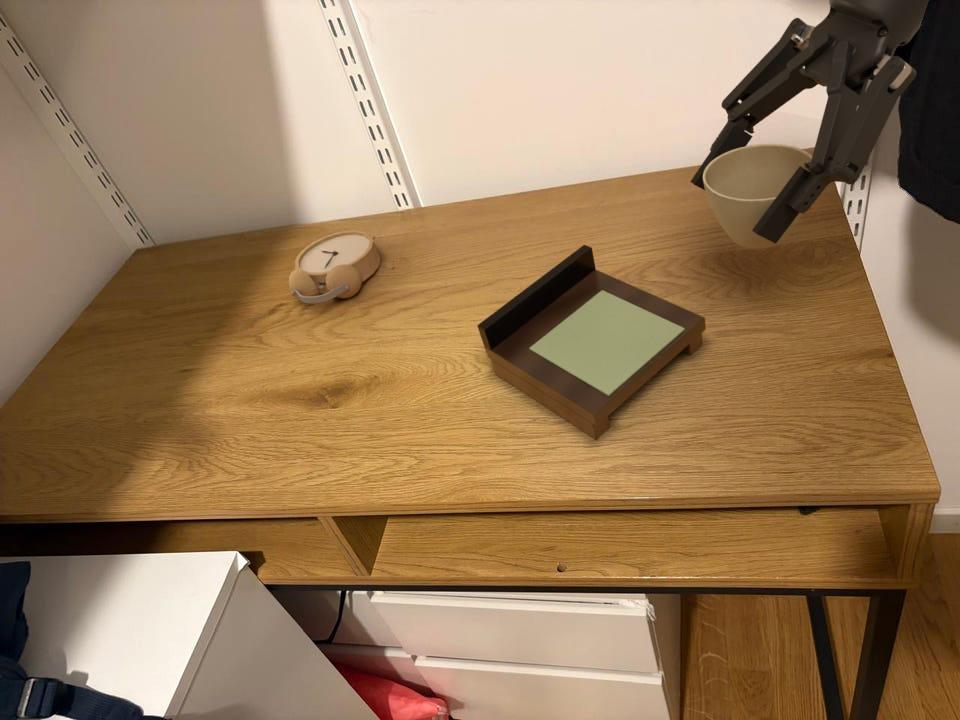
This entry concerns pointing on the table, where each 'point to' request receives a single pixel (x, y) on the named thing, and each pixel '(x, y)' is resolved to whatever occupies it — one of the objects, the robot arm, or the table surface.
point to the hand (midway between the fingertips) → (730, 211)
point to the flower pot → (750, 187)
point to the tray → (585, 340)
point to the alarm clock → (334, 266)
